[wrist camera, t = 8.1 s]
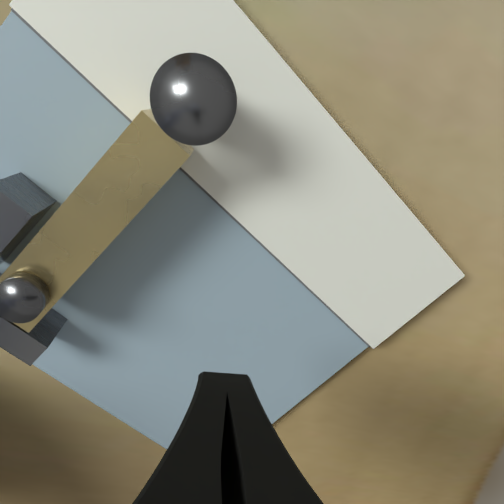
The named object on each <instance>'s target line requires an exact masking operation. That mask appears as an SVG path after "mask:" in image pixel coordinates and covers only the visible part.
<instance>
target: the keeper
mask: <svg viewBox="0 0 504 504" xmlns="http://www.w3.org/2000/svg"><path fill="white" fill-rule="evenodd" d="M56 202H57V201H56V200H55V199H54V198H53V197H51V196H50V195H49V194H48V193H46V192H45V191H44V190H43V189H41V188H40V187H39V186H38V185H36V184H35V183H34V182H33V181H31V180H30V179H29V178H28V177H26V176H25V175H24V174H23V173H21V172H20V173H17V174H14V175H11V176H9V177H6V178H3V179H0V264H2V263H3V262H4V261H5V260H6V259H7V258H8V257H9V256H10V254H11V253H12V252H13V251H14V250H15V249H16V248H17V246H18V245H19V244H20V243H21V242H22V241H23V239H24V238H25V237H26V236H27V235H28V234H29V233H30V231H31V230H32V229H33V228H34V227H35V226H36V225H37V223H38V222H39V221H40V220H41V219H42V218H43V216H44V215H45V214H46V213H47V212H48V211H49V210H50V208H51V207H52V206H53V205H54V204H55V203H56ZM1 275H2V273H1V272H0V277H1ZM67 320H68V319H67V318H65V317H64V316H62V315H61V314H60V313H58V312H57V311H55V310H54V309H52V308H51V309H50V310H49V311H48V312H47V313H46V315H45V316H44V317H43V318H42V319H41V320H40V321H39V322H38V323H37V324H36V326H35V327H34V328H33V329H32V330H31V331H30V332H29V333H28V332H27V331H25V330H23V329H22V328H20V327H19V326H17V325H16V324H14V323H13V322H10V321H7V320H5V319H3V318H2V317H0V347H1V348H3V349H4V350H6V351H7V352H9V353H10V354H12V355H14V356H15V357H17V358H18V359H20V360H22V361H23V362H25V363H26V364H28V365H29V366H31V365H32V364H33V363H34V362H35V361H36V360H37V358H38V357H39V356H40V355H41V354H42V353H43V352H44V351H45V350H46V349H47V348H48V347H49V345H50V344H51V343H52V341H53V340H54V338H55V337H56V335H57V334H58V333H59V331H60V330H61V328H62V327H63V325H64V324H65V323H66V321H67Z"/></svg>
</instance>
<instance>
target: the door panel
mask: <svg viewBox="0 0 504 504" xmlns="http://www.w3.org/2000/svg"><path fill="white" fill-rule="evenodd" d="M9 6H11V7H12V9H11V13H10V14H9V16H8V17H7V18H6V20H5V21H4V22H3V24H2V25H1V27H0V179H3V178H6V177H9V176H11V175H14V174H17V173H20V172H21V173H23V174H24V175H25V176H26V177H28V178H29V179H30V180H31V181H33V182H34V183H35V184H36V185H38V186H39V187H40V188H41V189H43V190H44V191H45V192H46V193H48V194H49V195H50V196H51V197H53V198H54V199H55V200H56V201H57V202H56V203H55V204H54V205H53V206H52V207H51V208H50V210H49V211H48V212H47V213H46V214H45V215H44V216H43V218H42V219H41V220H40V221H39V222H38V223H37V225H36V226H35V227H34V228H33V229H32V230H31V231H30V233H29V234H28V235H27V236H26V237H25V238H24V239H23V241H22V242H21V243H20V244H19V245H18V246H17V248H16V249H15V250H14V251H13V252H12V253H11V254H10V256H9V257H8V258H7V259H6V260H5V261H4V262H3V263H2V264H0V272H1V273H2V274H3V273H4V272H5V271H6V269H7V268H8V267H9V266H10V265H11V264H12V262H13V261H14V260H15V259H16V258H17V257H18V255H19V254H20V253H21V252H22V251H23V249H24V248H25V247H26V246H27V245H28V244H29V242H30V241H31V240H32V239H33V238H34V236H35V235H36V234H37V233H38V232H39V231H40V229H41V228H42V227H43V226H44V225H45V223H46V222H47V221H48V220H49V219H50V218H51V216H52V215H53V214H54V213H55V212H56V211H57V209H58V208H59V207H60V206H61V205H62V203H63V202H64V201H65V200H66V199H67V198H68V196H69V195H70V194H71V193H72V192H73V190H74V189H75V188H76V187H77V186H78V185H79V183H80V182H81V181H82V180H83V179H84V177H85V176H86V175H87V174H88V173H89V172H90V170H91V169H92V168H93V167H94V166H95V165H96V163H97V162H98V161H99V160H100V159H101V157H102V156H103V155H104V154H105V153H106V152H107V150H108V149H109V148H110V147H111V146H112V144H113V143H114V142H115V141H116V140H117V139H118V137H119V136H120V135H121V134H122V133H123V132H124V130H125V129H126V128H127V127H128V126H129V124H130V123H131V122H132V121H133V120H134V119H135V117H136V116H137V115H138V114H139V113H140V111H141V110H147V109H151V106H150V87H151V83H152V80H153V78H154V76H155V74H156V72H157V70H158V69H159V68H160V66H161V65H162V64H163V63H164V62H166V61H167V60H168V59H170V58H172V57H174V56H176V55H179V54H183V53H199V54H204V55H206V56H209V57H211V58H212V59H214V60H216V61H217V62H218V63H220V64H221V65H222V66H223V67H224V68H225V70H226V71H227V72H228V74H229V75H230V77H231V79H232V81H233V83H234V86H235V89H236V95H237V109H236V114H235V117H234V120H233V122H232V124H231V126H230V127H229V129H228V130H227V131H226V132H225V133H224V134H223V135H222V136H221V137H220V138H218V139H217V140H215V141H213V142H211V143H209V144H205V145H198V146H193V145H191V146H192V147H193V148H194V150H193V152H192V154H191V156H190V157H189V158H188V159H187V160H186V161H185V162H184V163H183V165H182V166H181V167H180V168H179V169H178V170H177V171H176V172H175V173H174V174H173V175H172V177H171V178H170V179H169V180H168V181H167V182H166V183H165V184H164V185H163V186H162V188H161V189H160V190H159V191H158V192H157V193H156V194H155V195H154V196H153V197H152V198H151V200H150V201H149V202H148V203H147V204H146V205H145V206H144V207H143V208H142V209H141V211H140V212H139V213H138V214H137V215H136V216H135V217H134V218H133V219H132V220H131V221H130V223H129V224H128V225H127V226H126V227H125V228H124V229H123V230H122V231H121V232H120V234H119V235H118V236H117V237H116V238H115V239H114V240H113V241H112V242H111V243H110V244H109V246H108V247H107V248H106V249H105V250H104V251H103V252H102V253H101V254H100V255H99V257H98V258H97V259H96V260H95V261H94V262H93V263H92V264H91V265H90V266H89V267H88V269H87V270H86V271H85V272H84V273H83V274H82V275H81V276H80V277H79V278H78V280H77V281H76V282H75V283H74V284H73V285H72V286H71V287H70V288H69V289H68V290H67V292H66V293H65V294H64V295H63V296H62V297H61V298H60V299H59V300H58V301H57V303H56V304H55V305H54V306H53V307H52V309H54V310H55V311H57V312H58V313H60V314H61V315H62V316H64V317H65V318H67V319H68V320H67V321H66V323H65V324H64V325H63V327H62V328H61V330H60V331H59V333H58V334H57V335H56V337H55V338H54V340H53V341H52V343H51V344H50V345H49V347H48V348H47V349H46V350H45V351H44V352H43V353H42V354H41V355H40V356H39V357H38V358H37V360H36V361H35V362H34V363H33V365H34V366H36V367H37V368H39V369H41V370H42V371H44V372H45V373H47V374H49V375H50V376H52V377H53V378H55V379H56V380H58V381H60V382H61V383H63V384H64V385H66V386H67V387H69V388H71V389H72V390H74V391H75V392H77V393H79V394H80V395H82V396H83V397H85V398H86V399H88V400H90V401H91V402H93V403H94V404H96V405H98V406H99V407H101V408H102V409H104V410H105V411H107V412H109V413H110V414H112V415H113V416H115V417H116V418H118V419H120V420H121V421H123V422H124V423H126V424H128V425H129V426H131V427H132V428H134V429H135V430H137V431H139V432H140V433H142V434H143V435H145V436H146V437H148V438H150V439H151V440H153V441H154V442H156V443H158V444H159V445H161V446H162V447H164V448H165V449H168V447H169V445H170V444H171V442H172V440H173V438H174V436H175V435H176V433H177V431H178V429H179V427H180V425H181V423H182V421H183V418H184V416H185V414H186V412H187V410H188V408H189V405H190V403H191V400H192V398H193V395H194V392H195V389H196V385H197V382H198V375H199V374H200V373H202V372H203V371H204V372H218V373H232V374H246V375H248V376H249V378H250V379H251V382H252V384H253V387H254V389H255V392H256V394H257V396H258V398H259V400H260V402H261V404H262V407H263V409H264V411H265V413H266V415H267V417H268V418H269V420H270V422H271V424H273V423H274V422H275V421H276V420H278V419H279V418H280V417H281V416H283V415H284V414H285V413H286V412H288V411H289V410H290V409H291V408H293V407H294V406H295V405H296V404H297V403H299V402H300V401H301V400H302V399H304V398H305V397H306V396H307V395H309V394H310V393H311V392H312V391H314V390H315V389H316V388H317V387H319V386H320V385H321V384H322V383H324V382H325V381H326V380H327V379H329V378H330V377H331V376H332V375H334V374H335V373H336V372H337V371H339V370H340V369H341V368H342V367H344V366H345V365H346V364H347V363H348V362H350V361H351V360H352V359H353V358H355V357H356V356H357V355H358V354H360V353H361V352H362V351H363V350H365V349H366V348H367V347H370V346H371V347H372V348H373V349H374V348H375V347H377V346H378V345H379V344H380V343H382V342H383V341H384V340H385V339H387V338H388V337H389V336H390V335H392V334H393V333H394V332H395V331H397V330H398V329H399V328H400V327H402V326H403V325H404V324H405V323H407V322H408V321H409V320H410V319H412V318H413V317H414V316H415V315H417V314H418V313H419V312H420V311H422V310H423V309H424V308H425V307H427V306H428V305H429V304H430V303H432V302H433V301H434V300H435V299H437V298H438V297H439V296H440V295H442V294H443V293H444V292H445V291H447V290H448V289H449V288H450V287H452V286H453V285H454V284H455V283H457V282H458V281H459V280H460V279H462V278H463V277H464V276H465V275H464V274H463V273H462V271H461V270H460V269H459V268H458V267H457V265H456V264H455V263H454V262H453V261H452V259H451V258H450V257H449V256H448V255H447V254H446V252H445V251H444V250H443V249H442V248H441V246H440V245H439V244H438V243H437V242H436V240H435V239H434V238H433V237H432V236H431V234H430V233H429V232H428V231H427V230H426V229H425V227H424V226H423V225H422V224H421V223H420V221H419V220H418V219H417V218H416V217H415V215H414V214H413V213H412V212H411V211H410V210H409V208H408V207H407V206H406V205H405V204H404V202H403V201H402V200H401V199H400V198H399V196H398V195H397V194H396V193H395V192H394V191H393V189H392V188H391V187H390V186H389V185H388V183H387V182H386V181H385V180H384V179H383V177H382V176H381V175H380V174H379V173H378V172H377V170H376V169H375V168H374V167H373V166H372V164H371V163H370V162H369V161H368V160H367V158H366V157H365V156H364V155H363V154H362V153H361V151H360V150H359V149H358V148H357V147H356V145H355V144H354V143H353V142H352V141H351V139H350V138H349V137H348V136H347V135H346V133H345V132H344V131H343V130H342V129H341V128H340V126H339V125H338V124H337V123H336V122H335V120H334V119H333V118H332V117H331V116H330V114H329V113H328V112H327V111H326V110H325V109H324V107H323V106H322V105H321V104H320V103H319V101H318V100H317V99H316V98H315V97H314V95H313V94H312V93H311V92H310V91H309V90H308V88H307V87H306V86H305V85H304V84H303V82H302V81H301V80H300V79H299V78H298V76H297V75H296V74H295V73H294V72H293V71H292V69H291V68H290V67H289V66H288V65H287V63H286V62H285V61H284V60H283V59H282V57H281V56H280V55H279V54H278V53H277V51H276V50H275V49H274V48H273V47H272V46H271V44H270V43H269V42H268V41H267V40H266V38H265V37H264V36H263V35H262V34H261V32H260V31H259V30H258V29H257V28H256V27H255V25H254V24H253V23H252V22H251V21H250V19H249V18H248V17H247V16H246V15H245V13H244V12H243V11H242V10H241V9H240V8H239V6H238V5H237V4H236V3H235V2H234V0H12V1H11V3H10V4H9Z"/></svg>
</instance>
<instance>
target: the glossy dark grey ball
mask: <svg viewBox="0 0 504 504" xmlns="http://www.w3.org/2000/svg"><path fill="white" fill-rule="evenodd" d="M150 106H151V110H152V113H153V116H154V118H155V120H156V122H157V124H158V125H159V126H160V128H161V129H162V130H163V131H164V132H165V133H166V134H167V135H168V136H169V137H171V138H172V139H174V140H176V141H178V142H180V143H183V144H186V145H193V146H198V145H205V144H209V143H211V142H213V141H215V140H217V139H218V138H220V137H221V136H222V135H223V134H224V133H225V132H226V131H227V130H228V129H229V127H230V126H231V124H232V122H233V120H234V117H235V114H236V109H237V95H236V89H235V86H234V83H233V81H232V79H231V77H230V75H229V74H228V72H227V71H226V70H225V68H224V67H223V66H222V65H221V64H220V63H218V62H217V61H216V60H214V59H212V58H211V57H209V56H206V55H204V54H199V53H183V54H179V55H176V56H174V57H172V58H170V59H168V60H167V61H166V62H164V63H163V64H162V65H161V66H160V68H159V69H158V70H157V72H156V74H155V76H154V78H153V80H152V83H151V87H150Z"/></svg>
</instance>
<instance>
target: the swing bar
mask: <svg viewBox="0 0 504 504" xmlns="http://www.w3.org/2000/svg"><path fill="white" fill-rule="evenodd" d="M193 150H194V148H193V147H192V146H191V145H186V144H183V143H180V142H178V141H176V140H174V139H172V138H171V137H169V136H168V135H167V134H166V133H165V132H164V131H163V130H162V129H161V128H160V126H159V125H158V124H157V122H156V120H155V118H154V116H153V113H152V110H151V109H147V110H141V111H140V113H139V114H138V115H137V116H136V117H135V119H134V120H133V121H132V122H131V123H130V124H129V126H128V127H127V128H126V129H125V130H124V132H123V133H122V134H121V135H120V136H119V137H118V139H117V140H116V141H115V142H114V143H113V144H112V146H111V147H110V148H109V149H108V150H107V152H106V153H105V154H104V155H103V156H102V157H101V159H100V160H99V161H98V162H97V163H96V165H95V166H94V167H93V168H92V169H91V170H90V172H89V173H88V174H87V175H86V176H85V177H84V179H83V180H82V181H81V182H80V183H79V185H78V186H77V187H76V188H75V189H74V190H73V192H72V193H71V194H70V195H69V196H68V198H67V199H66V200H65V201H64V202H63V203H62V205H61V206H60V207H59V208H58V209H57V211H56V212H55V213H54V214H53V215H52V216H51V218H50V219H49V220H48V221H47V222H46V223H45V225H44V226H43V227H42V228H41V229H40V231H39V232H38V233H37V234H36V235H35V236H34V238H33V239H32V240H31V241H30V242H29V244H28V245H27V246H26V247H25V248H24V249H23V251H22V252H21V253H20V254H19V255H18V257H17V258H16V259H15V260H14V261H13V262H12V264H11V265H10V266H9V267H8V268H7V269H6V271H5V272H4V273H3V274H2V275H1V277H0V317H2V318H3V319H5V320H7V321H10V322H13V323H14V324H16V325H17V326H19V327H20V328H22V329H23V330H25V331H27V332H28V333H29V332H30V331H31V330H32V329H33V328H34V327H35V326H36V324H37V323H38V322H39V321H40V320H41V319H42V318H43V317H44V316H45V315H46V313H47V312H48V311H49V310H50V309H51V308H52V307H53V306H54V305H55V304H56V303H57V301H58V300H59V299H60V298H61V297H62V296H63V295H64V294H65V293H66V292H67V290H68V289H69V288H70V287H71V286H72V285H73V284H74V283H75V282H76V281H77V280H78V278H79V277H80V276H81V275H82V274H83V273H84V272H85V271H86V270H87V269H88V267H89V266H90V265H91V264H92V263H93V262H94V261H95V260H96V259H97V258H98V257H99V255H100V254H101V253H102V252H103V251H104V250H105V249H106V248H107V247H108V246H109V244H110V243H111V242H112V241H113V240H114V239H115V238H116V237H117V236H118V235H119V234H120V232H121V231H122V230H123V229H124V228H125V227H126V226H127V225H128V224H129V223H130V221H131V220H132V219H133V218H134V217H135V216H136V215H137V214H138V213H139V212H140V211H141V209H142V208H143V207H144V206H145V205H146V204H147V203H148V202H149V201H150V200H151V198H152V197H153V196H154V195H155V194H156V193H157V192H158V191H159V190H160V189H161V188H162V186H163V185H164V184H165V183H166V182H167V181H168V180H169V179H170V178H171V177H172V175H173V174H174V173H175V172H176V171H177V170H178V169H179V168H180V167H181V166H182V165H183V163H184V162H185V161H186V160H187V159H188V158H189V157H190V156H191V154H192V152H193Z"/></svg>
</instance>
